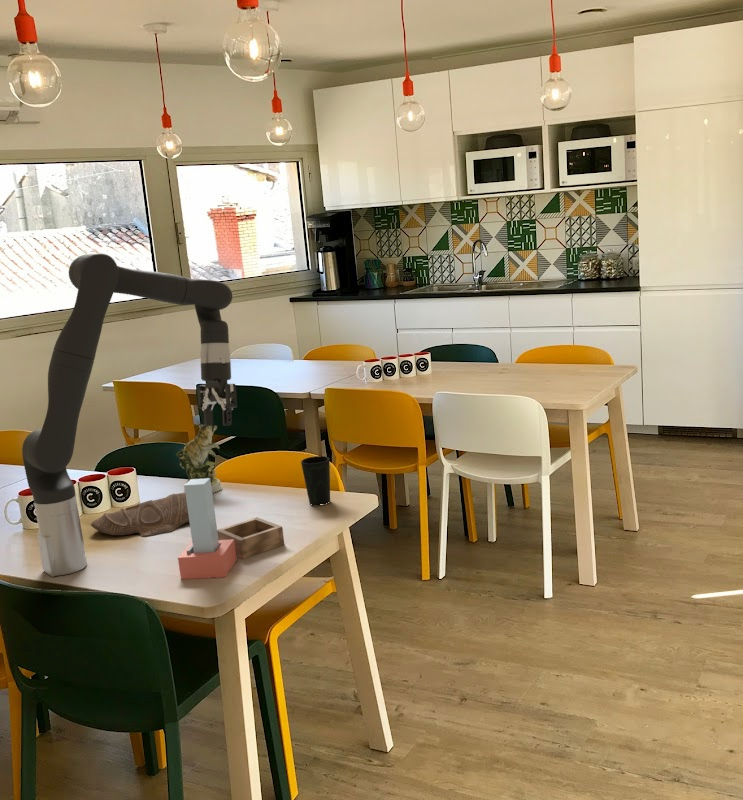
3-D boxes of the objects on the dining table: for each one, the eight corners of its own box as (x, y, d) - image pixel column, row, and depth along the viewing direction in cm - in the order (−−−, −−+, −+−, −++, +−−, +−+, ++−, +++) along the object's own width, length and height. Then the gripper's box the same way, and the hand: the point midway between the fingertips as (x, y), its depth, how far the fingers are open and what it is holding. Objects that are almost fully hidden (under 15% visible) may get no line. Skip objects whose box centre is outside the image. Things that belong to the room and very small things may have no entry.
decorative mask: (84, 507, 247) (192, 476, 257) (90, 530, 248) (197, 498, 259) (93, 530, 226) (211, 496, 236) (100, 555, 227) (216, 520, 237)
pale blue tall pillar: (216, 570, 202) (204, 484, 198) (196, 571, 203) (184, 485, 199) (221, 563, 206) (210, 478, 203) (202, 563, 207) (190, 479, 203)
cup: (302, 501, 248) (298, 459, 246) (329, 496, 250) (325, 454, 248) (309, 509, 241) (304, 465, 239) (337, 504, 243) (332, 460, 241)
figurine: (231, 489, 267) (222, 423, 263) (187, 500, 260) (177, 432, 256) (217, 481, 277) (209, 417, 273) (174, 491, 270) (165, 426, 266)
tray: (242, 559, 209) (240, 540, 208) (218, 548, 218) (216, 530, 217) (284, 544, 216) (282, 526, 215) (259, 534, 225) (257, 517, 224)
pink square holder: (225, 577, 199) (221, 552, 198) (180, 579, 200) (177, 554, 199) (236, 559, 209) (233, 535, 208) (194, 562, 210) (191, 538, 209)
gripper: (187, 363, 234) (190, 426, 234) (218, 360, 224) (221, 426, 224) (212, 363, 239) (215, 424, 239) (244, 360, 229) (246, 424, 229)
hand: (218, 425), depth 231 cm, fingers open, 8 cm apart
